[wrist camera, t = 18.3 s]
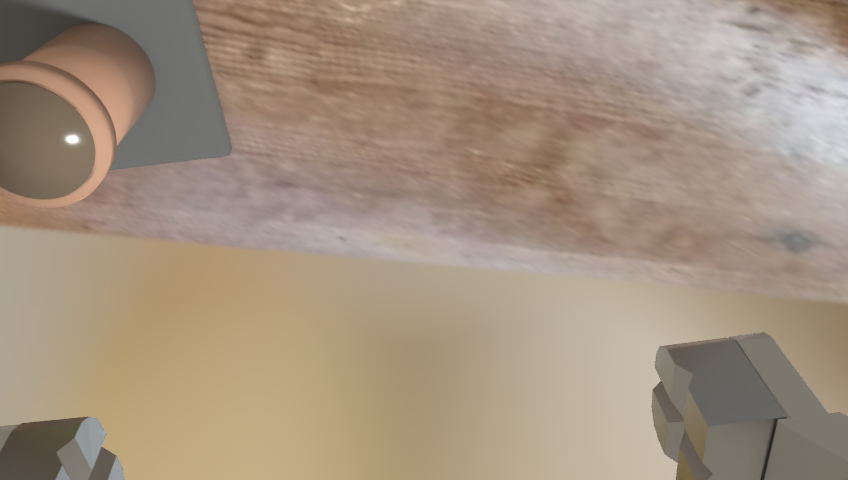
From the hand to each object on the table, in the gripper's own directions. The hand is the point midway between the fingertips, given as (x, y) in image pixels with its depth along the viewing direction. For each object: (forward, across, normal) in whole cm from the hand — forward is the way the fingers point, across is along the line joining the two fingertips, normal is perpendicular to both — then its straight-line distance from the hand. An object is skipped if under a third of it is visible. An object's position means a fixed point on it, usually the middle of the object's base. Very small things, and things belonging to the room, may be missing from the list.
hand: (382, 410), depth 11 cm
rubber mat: (+31, +15, +4) cm, 35 cm away
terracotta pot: (+30, +15, +4) cm, 34 cm away
